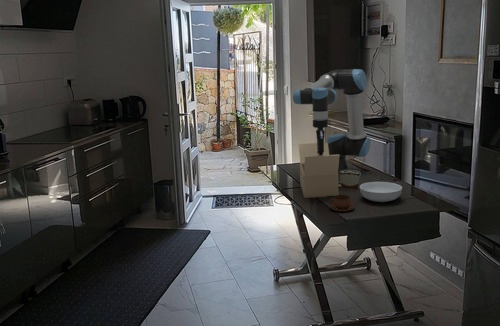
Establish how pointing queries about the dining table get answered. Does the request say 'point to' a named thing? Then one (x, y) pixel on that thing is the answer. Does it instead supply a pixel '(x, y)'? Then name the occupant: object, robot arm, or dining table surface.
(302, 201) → the dining table surface
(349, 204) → the cup and saucer
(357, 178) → the food container
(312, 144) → the flap
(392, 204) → the dining table surface
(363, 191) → the serving bowl
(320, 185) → the carton
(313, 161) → the flap
